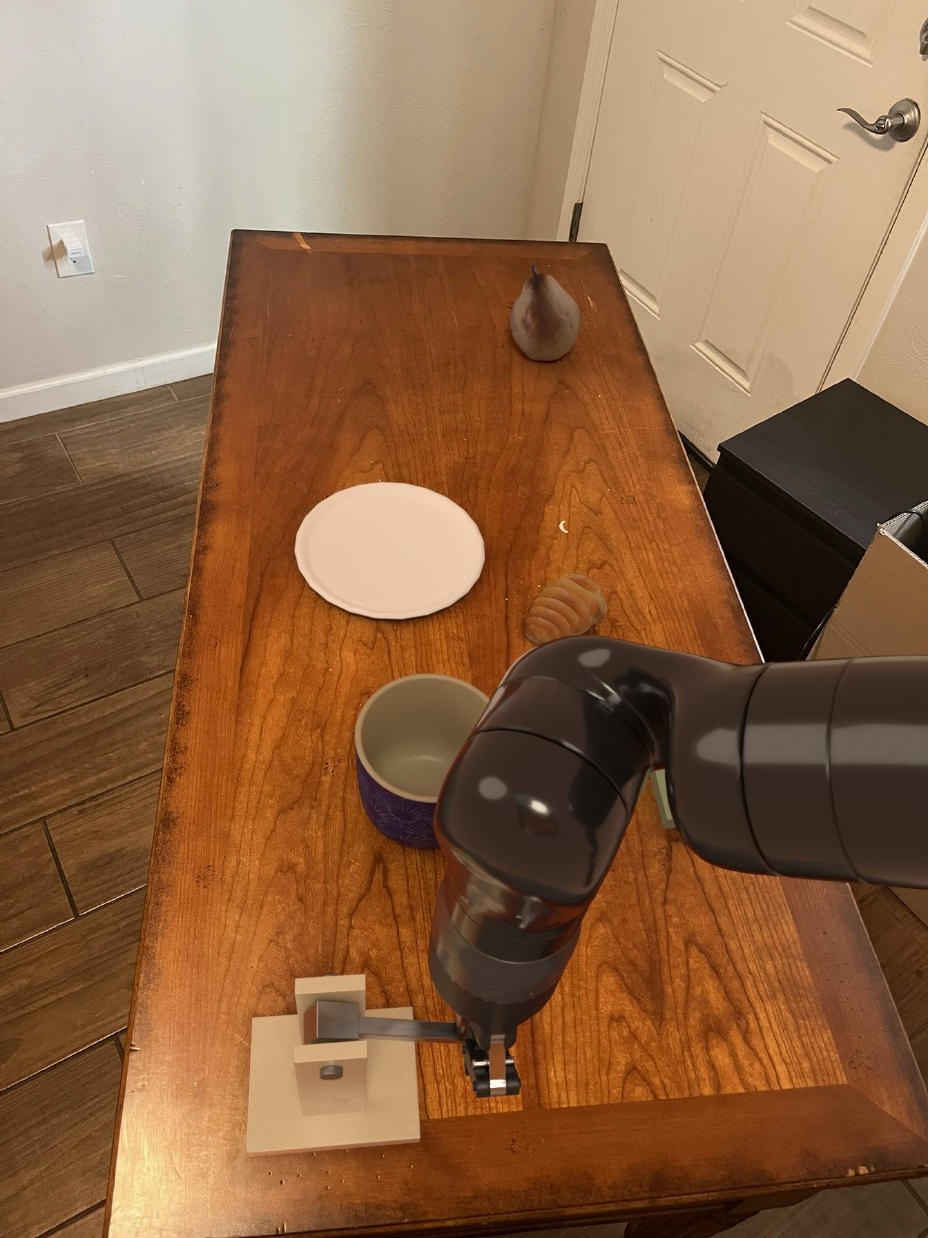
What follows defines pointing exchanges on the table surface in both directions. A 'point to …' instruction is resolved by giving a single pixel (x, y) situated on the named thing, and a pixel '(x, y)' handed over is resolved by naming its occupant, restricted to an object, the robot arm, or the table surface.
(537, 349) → the fruit
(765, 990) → the table surface
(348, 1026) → the lever
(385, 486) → the plate
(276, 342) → the table surface
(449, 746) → the planter
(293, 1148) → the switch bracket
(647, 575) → the table surface
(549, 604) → the pastry
